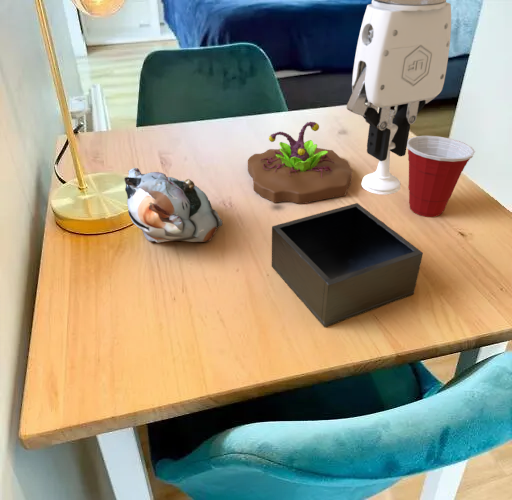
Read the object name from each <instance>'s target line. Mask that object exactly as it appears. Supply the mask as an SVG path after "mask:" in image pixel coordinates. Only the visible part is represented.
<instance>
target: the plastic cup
mask: <svg viewBox="0 0 512 500" xmlns="http://www.w3.org/2000/svg"><path fill="white" fill-rule="evenodd" d="M406 149H407V156H408V158H407V160H408V204H409V209H410V210H411V212H413V213H414V214H416V215H418V216H422V217H424V218H425V217H427V218H430V217H431V218H434V217H439V216H440V215H442V214H443V212H444V211H445V209H446V207H447V204H448V202H449V200H450V199H451V197H452V194H453V193H454V190H455V188H456V186H457V183H458V182H459V179H460V177H461V175H462V172H463V171H464V170H465V167H466V166H467V164H468V162H469V161H470V160H471V159H472V158H473V157H474V155H475V153H476V151H475V149H474V148H473V146H471V145H469V144H467V143H466V142H463V141H460V140H457V139H455V138H449V137H443V136H436V135H417V136H413V137H408V142H407V148H406Z"/></svg>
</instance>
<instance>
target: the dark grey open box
mask: <svg viewBox="0 0 512 500" xmlns="http://www.w3.org/2000/svg"><path fill="white" fill-rule="evenodd" d="M423 255H424V252H423V251H421V250H420V249H419V248H418V247H416V246H415V245H414V244H412V243H411V242H410V241H408V240H407V239H406V238H404V237H403V236H402V235H400V234H399V233H398V232H396V231H395V230H393V229H392V228H391V227H390V226H388V225H387V224H385V223H384V222H383V221H382V220H381V219H380V218H378V217H377V216H376V215H373V213H371V212H370V211H368V210H367V209H366V208H364V207H363V206H362V205H360V203H358V202H356V203H351V204H349V205H345V206H340V207H337V208H334V209H329V210H327V211H322V212H320V213H316V214H312V215H307V216H305V217H301V218H297V219H294V220H290V221H286V222H283V223H280V224H279V223H278V224H276V225H272V226H271V268H272V269H273V270H274V271H275V272H276V274H278V276H279V277H280V278H281V279H282V281H283V282H284V283H285V284H286V285H287V286H288V288H289V289H290V290H291V291H292V292H293V293H294V294H295V295H296V296H297V298H298V299H299V300H300V301H301V302H302V303H303V305H304V306H305V307H306V308H307V309H308V310H309V312H310V313H311V314H312V315H313V316H314V317H315V318H316V319H317V321H318V322H319V323H320V324H321V326H322V327H323V328H328V327H329V326H333V325H335V324H338V323H341V322H344V321H346V320H348V319H352V318H354V317H357V316H359V315H362V314H365V313H368V312H370V311H374V310H376V309H379V308H381V307H383V306H386V305H389V304H392V303H394V302H398V301H400V300H403V299H406V298H407V297H411V296H413V295H415V290H416V286H417V281H418V277H419V273H420V269H421V265H422V260H423Z"/></svg>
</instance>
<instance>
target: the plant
mask: <svg viewBox="0 0 512 500" xmlns="http://www.w3.org/2000/svg"><path fill="white" fill-rule="evenodd" d="M307 127H310V129H311V130H312V131H313V132H317V131H318V130H319V129H320V125H319V123H317V122H316V121H309V122H308V121H307V122H305V124H304V125H303V126H302V128H301V129H300V131H299V133H298V138H297V140H296V139H294V138H293V137H292V135H290V134H288V133H286V132H283V131H277V132H275V133H272V134H270V135H268V141H269V142H271V143H273V142H275V141H276V139H277V136H283V138H284V137H285V138H286V140H287V141H288V142H289V143H286V142H283V141H280V142H279V144H278V145H279V147H280V148H278V149H277V148H275V149H274V148H269V149H267V150H266V151H264V152H262V153H254V154H252V155H251V156H250V157H249V158H248V159H247V173H248V174H249V176H250V177H251V178H252V181H253V182H252V183H253V185H252V187H253V191H254V192H255V193H257V194H258V195H259V196H260V197H261V198H264V199H266V200H269V201H270V202H271V203H274V204H275V203H281V202H291V203H296V204H308V203H313V202H317V201H318V202H319V201H321V200H329V199H334V198H339V197H345V196H346V195H347V191H348V188H349V187H350V186H351V184H352V178H353V177H352V176H353V169H352V167H351V164H350V163H349V160H347V159H345V158H342V157H340V156H339V155H338V154H337V153H336V152H335V151H334V150H333V149H327V148H326V149H325V148H321V147H318V144H317V143H314V141H313V140H311V139H309V140H307V141H304V140H305V139H304V137H305V132H306V130H307Z"/></svg>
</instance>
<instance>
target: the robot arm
mask: <svg viewBox="0 0 512 500" xmlns="http://www.w3.org/2000/svg"><path fill="white" fill-rule="evenodd" d="M451 33H452V5H451V3H450V2H447V0H371V3H370V4H367V5H366V9H365V12H364V15H363V18H362V22H361V27H360V30H359V35H358V39H357V44H356V49H355V56H354V62H353V69H352V79H351V80H352V81H351V89H352V90H351V91H352V92H351V94H350V97H349V100H348V102H347V103H346V109H347V110H348V111H349V112H351V113H353V114H354V115H358V116H361V117H362V118H363V119H364V120H365V122H366V123H367V124H368V125H369V126H368V133H367V141H366V153H367V154H368V155H370V156H371V157H373V158H374V159H376V160H378V161H379V160H380V161H384V160H386V158H387V153H388V146H389V140H390V133H391V131H390V129H388V128H387V126H388V120H389V114H390V110H391V107H394V109H393V110H394V118H393V121H392V123H393V124H395V125H397V126H398V129H397V132H396V133H395V135H394V137H393V139H392V142H394V143H395V146H396V147H395V148H394V149H390V153H391V152H392V153H393V154H395V155H396V156H397V157H404V156H406V152H407V149H408V148H407V142H408V139H409V135H410V129H411V125H413V124H415V123H416V121H417V117H418V114H419V113H420V112H421V110H423V108H424V107H425V105H427V104H428V103H430V102H431V101H432V100H435V98H437V97H438V96H439V94H440V93H441V92H442V91H443V88H444V84H445V80H446V76H447V75H446V74H447V68H448V62H449V61H448V60H449V53H450V47H451V38H452V37H451V35H452V34H451ZM366 100H367V103H366Z"/></svg>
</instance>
